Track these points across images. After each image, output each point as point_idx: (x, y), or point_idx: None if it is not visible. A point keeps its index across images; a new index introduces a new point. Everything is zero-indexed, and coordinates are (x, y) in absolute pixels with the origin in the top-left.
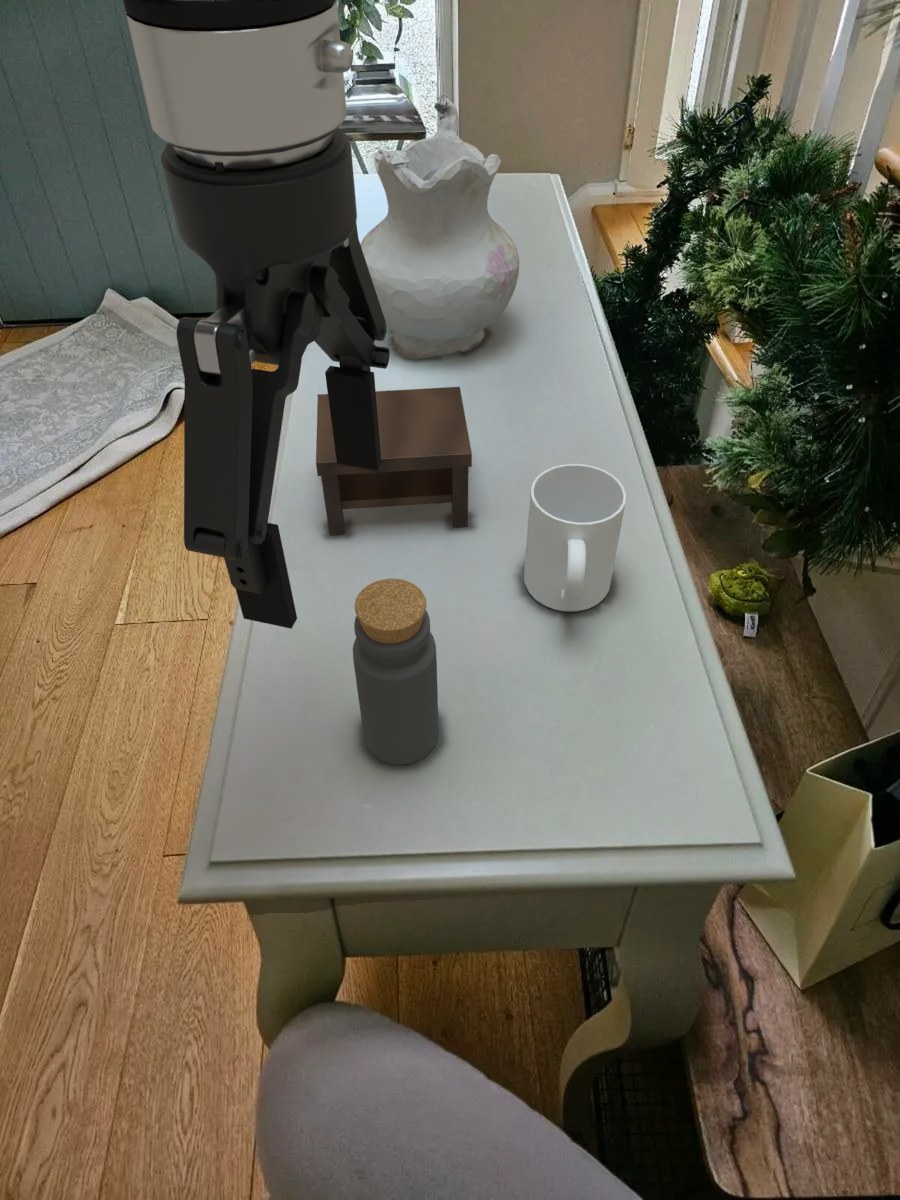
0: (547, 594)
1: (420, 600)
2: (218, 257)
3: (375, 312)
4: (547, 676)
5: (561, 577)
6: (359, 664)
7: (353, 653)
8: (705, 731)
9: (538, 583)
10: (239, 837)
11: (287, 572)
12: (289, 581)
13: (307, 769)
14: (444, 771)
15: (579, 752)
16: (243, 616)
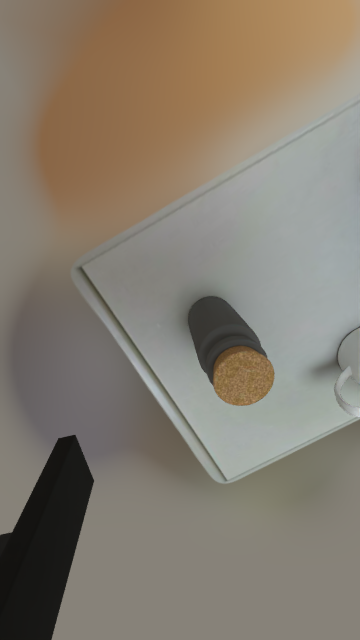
0: (345, 354)
1: (256, 398)
2: None
3: None
4: (284, 371)
5: (357, 371)
6: (203, 342)
7: (211, 331)
8: (277, 447)
9: (352, 349)
10: (102, 272)
11: (70, 564)
12: (76, 544)
13: (162, 281)
14: None
15: None
16: (57, 441)
